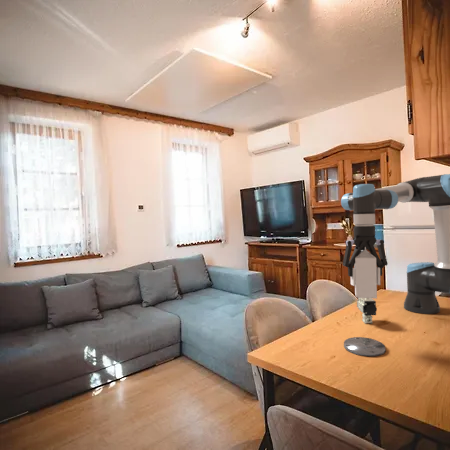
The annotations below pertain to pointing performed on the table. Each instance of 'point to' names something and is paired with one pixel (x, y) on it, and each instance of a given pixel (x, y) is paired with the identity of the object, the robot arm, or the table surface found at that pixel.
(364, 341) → the duct flange
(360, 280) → the milk carton
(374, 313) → the pneumatic valve
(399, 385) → the table surface
